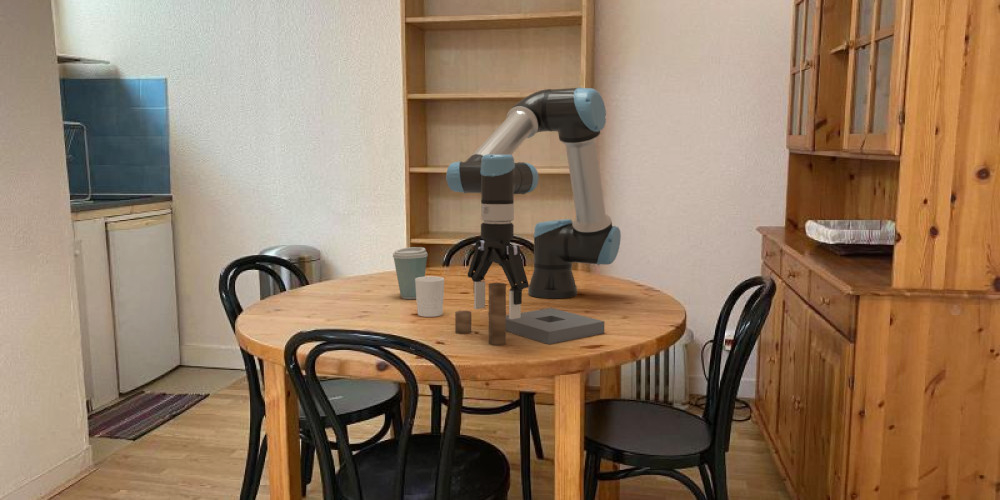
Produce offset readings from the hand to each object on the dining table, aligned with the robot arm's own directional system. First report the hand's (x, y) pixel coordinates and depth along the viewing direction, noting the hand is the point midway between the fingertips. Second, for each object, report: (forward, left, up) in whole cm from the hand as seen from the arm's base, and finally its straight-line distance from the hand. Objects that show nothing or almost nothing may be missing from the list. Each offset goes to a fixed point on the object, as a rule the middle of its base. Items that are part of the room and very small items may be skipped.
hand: (496, 313), depth 178 cm
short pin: (-14, 0, -7) cm, 16 cm away
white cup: (-36, +4, -7) cm, 37 cm away
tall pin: (0, 0, -7) cm, 7 cm away
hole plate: (-2, +18, -7) cm, 20 cm away
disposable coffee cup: (-60, +12, -7) cm, 62 cm away
